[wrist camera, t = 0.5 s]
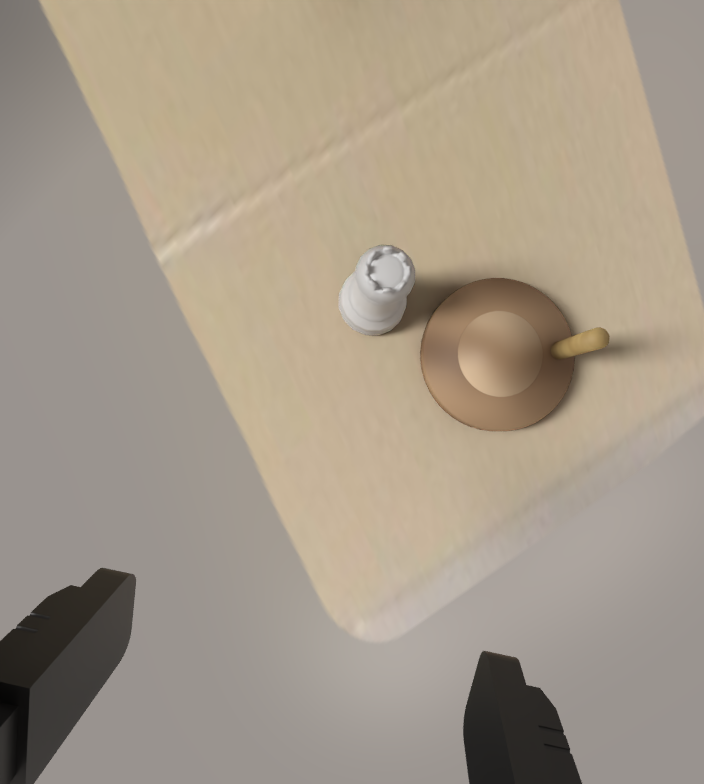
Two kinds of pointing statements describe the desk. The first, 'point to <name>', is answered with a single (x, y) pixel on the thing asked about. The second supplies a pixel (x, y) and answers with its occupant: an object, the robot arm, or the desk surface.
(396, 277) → the rook chess piece
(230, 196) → the desk surface
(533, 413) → the handwheel with crank handle
